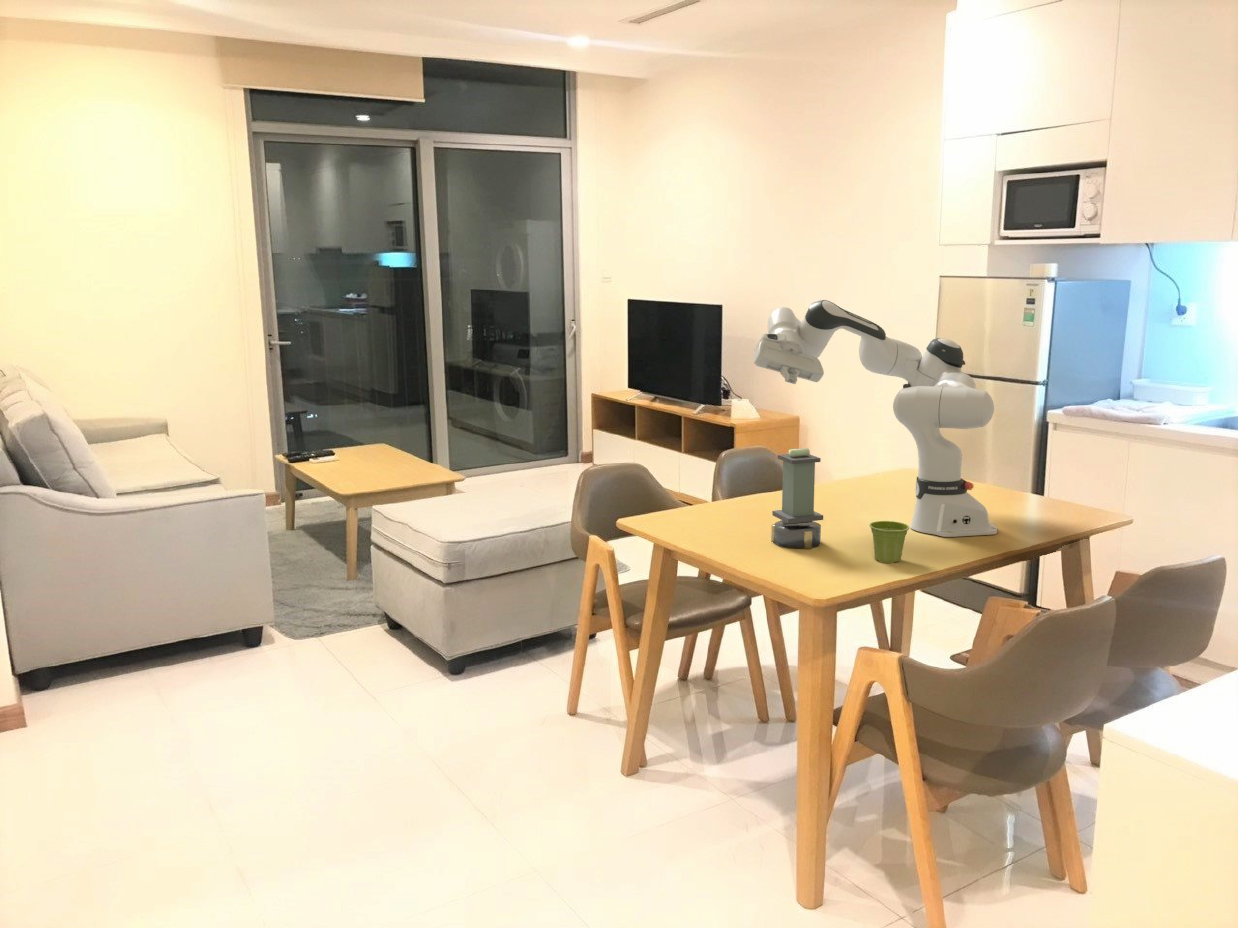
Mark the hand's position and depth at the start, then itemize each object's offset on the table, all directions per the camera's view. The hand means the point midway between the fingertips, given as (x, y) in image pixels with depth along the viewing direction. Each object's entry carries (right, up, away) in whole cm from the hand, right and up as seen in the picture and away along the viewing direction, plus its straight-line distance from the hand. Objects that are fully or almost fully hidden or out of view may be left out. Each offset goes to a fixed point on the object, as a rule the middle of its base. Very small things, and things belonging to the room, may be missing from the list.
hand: (791, 381), depth 274 cm
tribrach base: (-1, -43, -14) cm, 46 cm away
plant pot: (+18, -47, -30) cm, 59 cm away
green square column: (-1, -38, -15) cm, 41 cm away
